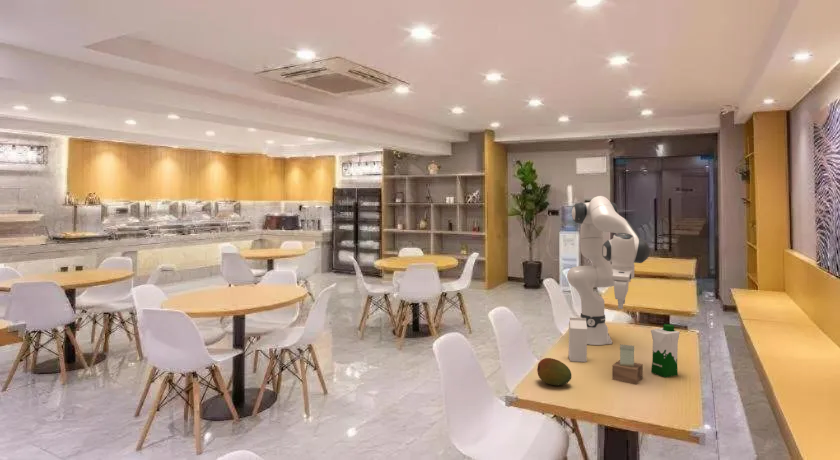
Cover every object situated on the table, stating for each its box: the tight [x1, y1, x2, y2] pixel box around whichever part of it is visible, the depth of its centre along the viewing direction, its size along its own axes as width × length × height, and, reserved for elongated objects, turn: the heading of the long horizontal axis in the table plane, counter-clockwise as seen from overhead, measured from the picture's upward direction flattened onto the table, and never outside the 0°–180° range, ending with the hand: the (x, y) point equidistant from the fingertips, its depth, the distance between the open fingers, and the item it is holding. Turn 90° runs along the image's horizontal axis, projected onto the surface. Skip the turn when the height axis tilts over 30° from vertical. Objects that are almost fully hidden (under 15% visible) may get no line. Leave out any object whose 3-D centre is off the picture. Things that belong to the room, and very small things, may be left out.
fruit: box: [536, 357, 572, 386], centre depth 188 cm, size 12×12×10 cm
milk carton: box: [568, 317, 588, 363], centre depth 219 cm, size 7×7×19 cm
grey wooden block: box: [619, 344, 635, 367], centre depth 194 cm, size 5×5×7 cm
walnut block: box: [611, 359, 644, 385], centre depth 194 cm, size 9×9×6 cm
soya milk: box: [650, 323, 681, 378], centre depth 199 cm, size 9×9×20 cm
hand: (621, 306), depth 200 cm, fingers open, 8 cm apart
